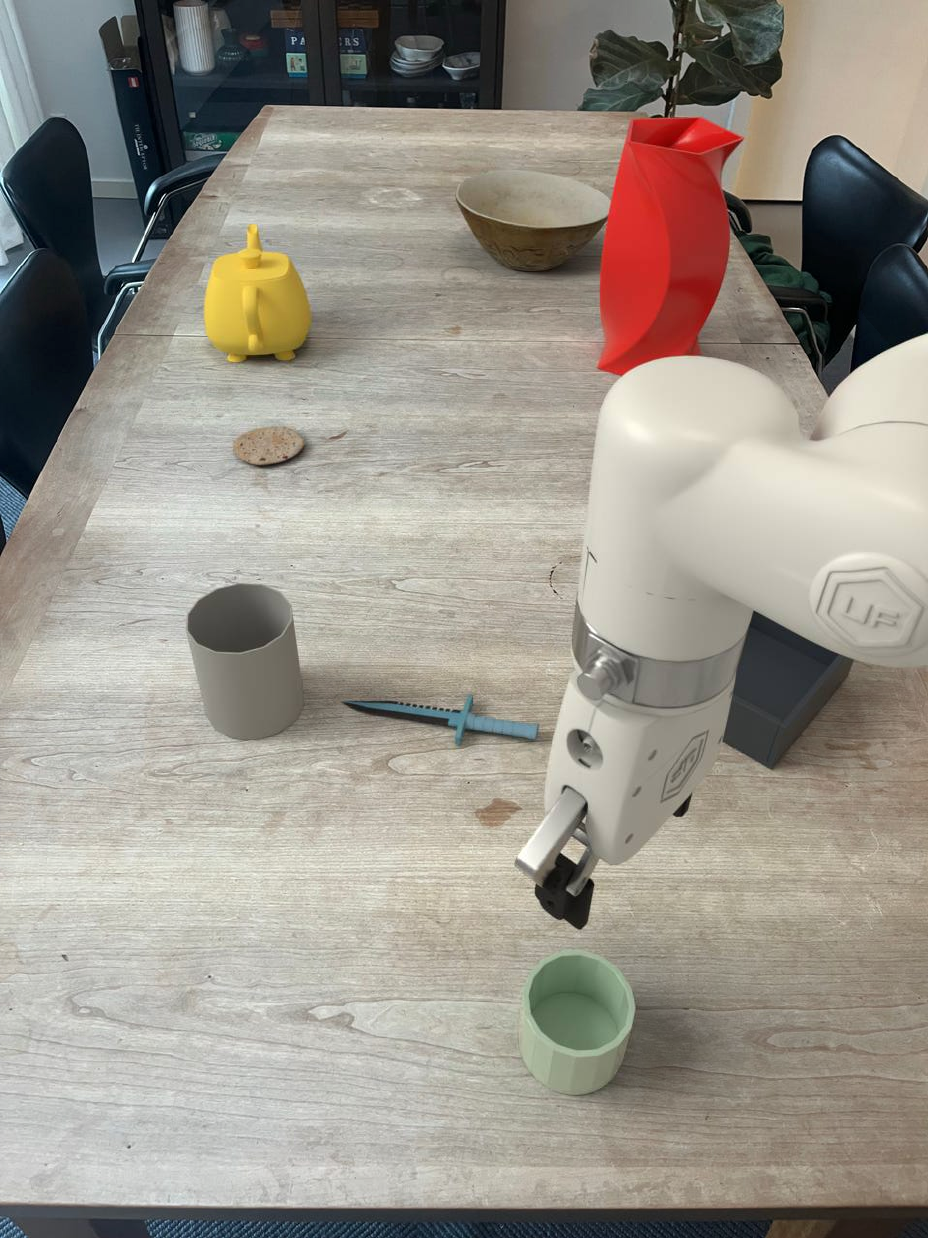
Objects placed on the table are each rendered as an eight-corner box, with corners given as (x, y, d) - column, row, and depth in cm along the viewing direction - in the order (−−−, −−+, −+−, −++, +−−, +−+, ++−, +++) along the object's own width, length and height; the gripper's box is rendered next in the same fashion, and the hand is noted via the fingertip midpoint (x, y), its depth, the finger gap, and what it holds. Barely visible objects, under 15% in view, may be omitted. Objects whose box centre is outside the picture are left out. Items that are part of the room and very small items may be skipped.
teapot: (204, 379, 127) (187, 282, 118) (215, 309, 141) (200, 218, 133) (314, 374, 128) (304, 278, 119) (313, 305, 142) (304, 215, 134)
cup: (305, 734, 83) (293, 648, 77) (205, 745, 82) (184, 659, 76) (301, 663, 90) (289, 578, 83) (207, 673, 89) (188, 587, 82)
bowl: (615, 237, 162) (623, 173, 156) (595, 299, 145) (602, 230, 139) (474, 221, 166) (475, 158, 159) (438, 280, 149) (438, 212, 142)
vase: (614, 325, 139) (640, 108, 120) (717, 344, 135) (761, 123, 117) (583, 375, 129) (607, 145, 110) (694, 397, 125) (739, 163, 106)
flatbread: (239, 472, 111) (238, 465, 111) (229, 437, 116) (227, 430, 116) (311, 460, 113) (311, 452, 113) (297, 426, 118) (297, 418, 118)
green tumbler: (644, 1036, 65) (656, 995, 61) (582, 1119, 61) (592, 1081, 57) (560, 972, 68) (566, 929, 64) (497, 1046, 64) (500, 1006, 61)
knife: (330, 718, 84) (349, 676, 88) (332, 727, 85) (350, 686, 88) (532, 747, 81) (542, 703, 84) (532, 757, 82) (542, 712, 85)
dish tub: (847, 676, 89) (864, 635, 86) (771, 770, 81) (786, 728, 78) (709, 606, 96) (719, 565, 93) (626, 686, 88) (633, 644, 85)
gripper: (613, 793, 38) (573, 1006, 50) (823, 578, 48) (749, 798, 59) (466, 696, 42) (461, 915, 53) (689, 514, 51) (644, 733, 63)
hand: (613, 853), depth 56 cm, fingers open, 9 cm apart
